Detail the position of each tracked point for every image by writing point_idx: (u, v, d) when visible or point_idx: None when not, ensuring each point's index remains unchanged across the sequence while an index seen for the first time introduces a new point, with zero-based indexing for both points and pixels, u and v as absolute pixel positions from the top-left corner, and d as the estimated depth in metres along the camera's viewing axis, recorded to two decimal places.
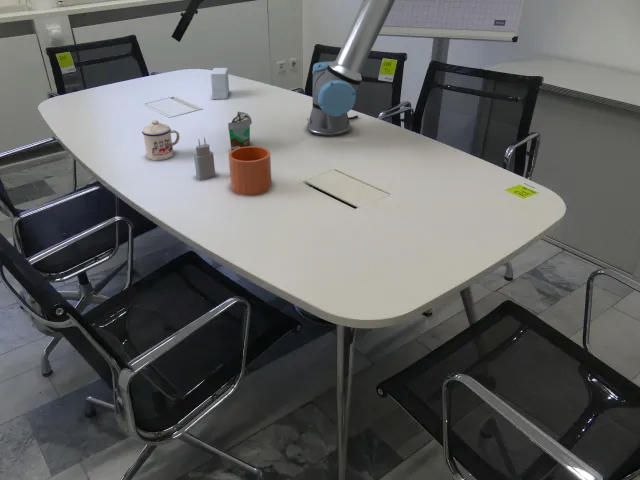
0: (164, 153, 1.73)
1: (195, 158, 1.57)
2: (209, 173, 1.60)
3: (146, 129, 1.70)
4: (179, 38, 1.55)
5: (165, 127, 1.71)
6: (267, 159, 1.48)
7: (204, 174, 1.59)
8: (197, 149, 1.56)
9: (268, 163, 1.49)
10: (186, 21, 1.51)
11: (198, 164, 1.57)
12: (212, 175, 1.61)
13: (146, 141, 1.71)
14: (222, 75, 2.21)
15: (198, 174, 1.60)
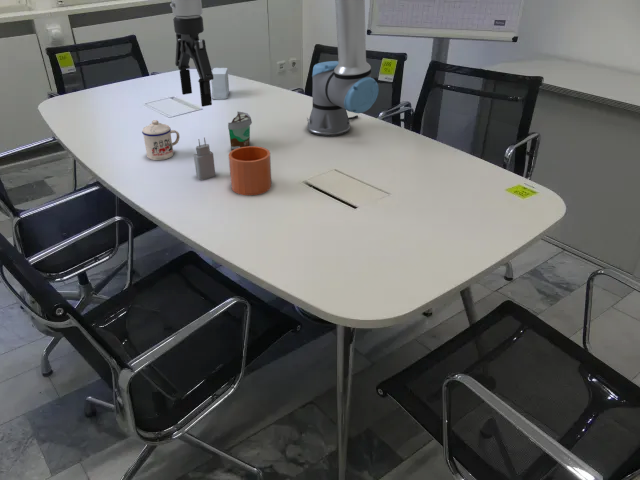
0: (164, 153, 1.73)
1: (195, 158, 1.57)
2: (209, 173, 1.60)
3: (146, 129, 1.70)
4: (209, 101, 1.44)
5: (165, 127, 1.71)
6: (267, 159, 1.48)
7: (204, 174, 1.59)
8: (197, 149, 1.56)
9: (268, 163, 1.49)
10: (208, 82, 1.40)
11: (198, 164, 1.57)
12: (212, 175, 1.61)
13: (146, 141, 1.71)
14: (222, 75, 2.21)
15: (198, 174, 1.60)
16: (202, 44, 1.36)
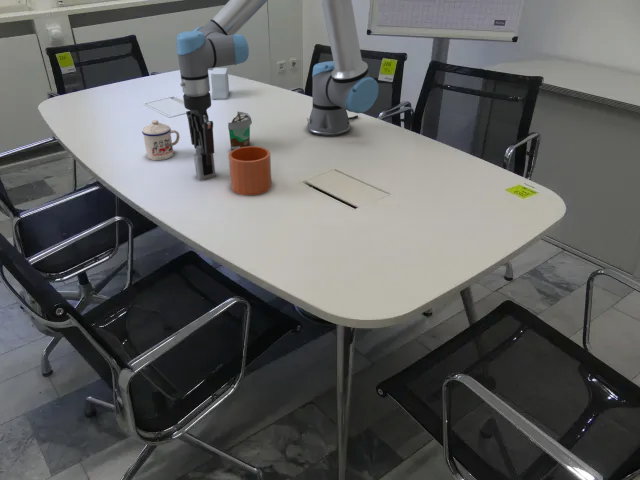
0: (164, 153, 1.73)
1: (195, 158, 1.57)
2: None
3: (146, 129, 1.70)
4: (211, 170, 1.59)
5: (165, 127, 1.71)
6: (267, 159, 1.48)
7: None
8: (197, 149, 1.56)
9: (268, 163, 1.49)
10: (209, 155, 1.55)
11: (198, 164, 1.57)
12: (212, 175, 1.61)
13: (146, 141, 1.71)
14: (222, 75, 2.21)
15: (198, 174, 1.60)
16: (210, 126, 1.48)
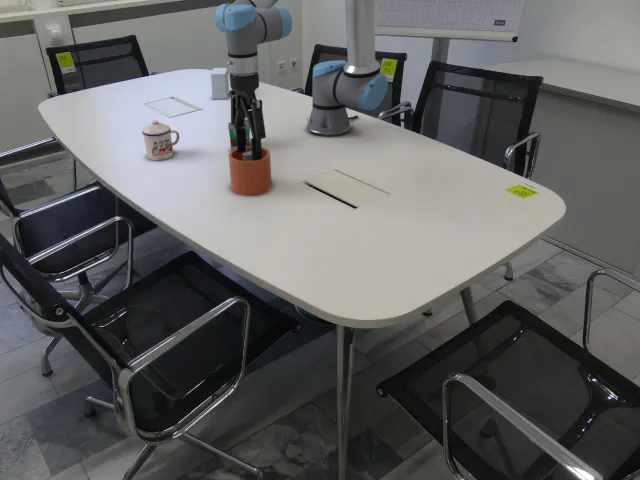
0: (164, 153, 1.73)
1: None
2: None
3: (146, 129, 1.70)
4: (260, 157, 1.47)
5: (165, 127, 1.71)
6: (267, 159, 1.48)
7: None
8: (244, 156, 1.49)
9: (268, 163, 1.49)
10: (259, 140, 1.42)
11: None
12: None
13: (146, 141, 1.71)
14: (222, 75, 2.21)
15: None
16: (259, 105, 1.37)
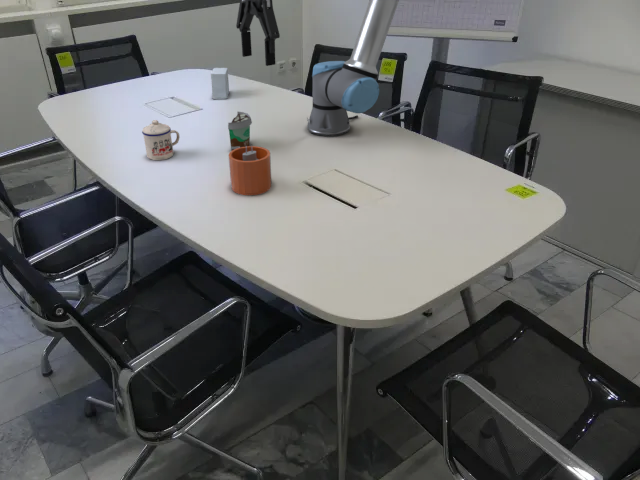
0: (164, 153, 1.73)
1: None
2: None
3: (146, 129, 1.70)
4: (273, 61, 1.48)
5: (165, 127, 1.71)
6: (267, 159, 1.48)
7: None
8: (244, 156, 1.49)
9: (268, 163, 1.49)
10: (273, 41, 1.44)
11: None
12: None
13: (146, 141, 1.71)
14: (222, 75, 2.21)
15: None
16: (269, 3, 1.40)
